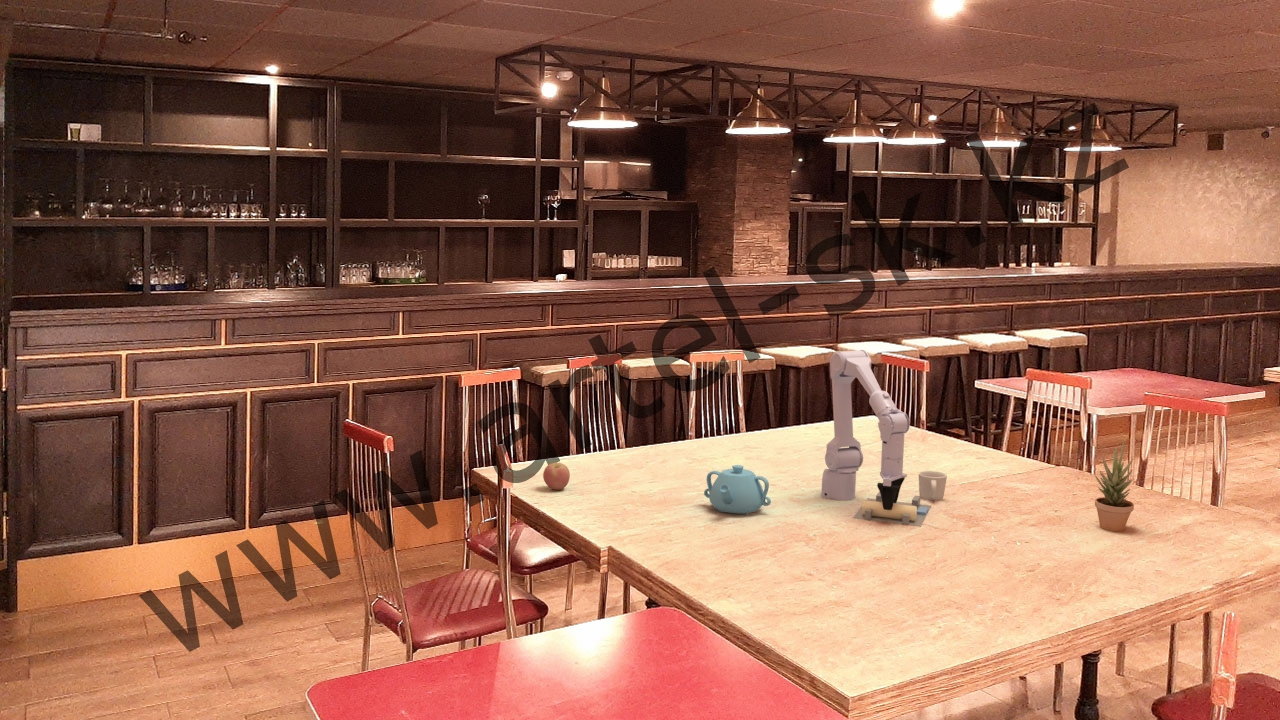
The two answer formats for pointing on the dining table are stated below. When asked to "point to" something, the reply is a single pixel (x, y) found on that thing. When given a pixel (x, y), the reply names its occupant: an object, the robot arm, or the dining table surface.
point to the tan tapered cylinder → (894, 513)
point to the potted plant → (1114, 496)
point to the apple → (556, 476)
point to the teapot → (737, 491)
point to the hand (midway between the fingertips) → (890, 506)
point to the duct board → (921, 514)
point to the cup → (932, 485)
